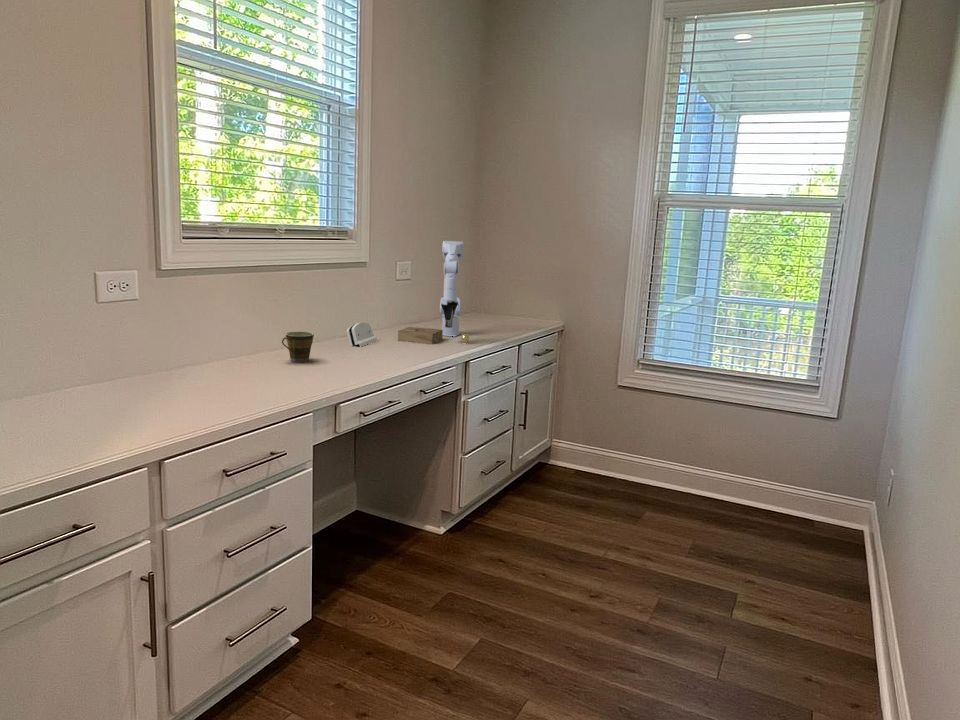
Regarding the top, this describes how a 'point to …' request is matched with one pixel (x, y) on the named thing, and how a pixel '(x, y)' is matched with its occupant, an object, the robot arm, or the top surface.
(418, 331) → the hole block
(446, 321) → the tall pin
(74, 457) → the top surface
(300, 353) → the ceramic cup
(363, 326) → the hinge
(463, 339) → the short pin
